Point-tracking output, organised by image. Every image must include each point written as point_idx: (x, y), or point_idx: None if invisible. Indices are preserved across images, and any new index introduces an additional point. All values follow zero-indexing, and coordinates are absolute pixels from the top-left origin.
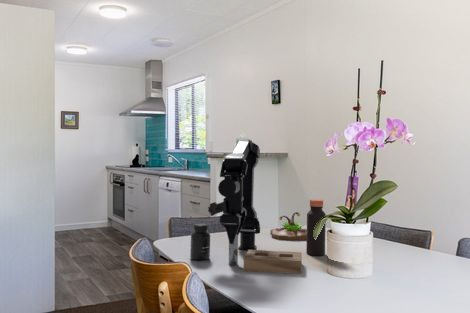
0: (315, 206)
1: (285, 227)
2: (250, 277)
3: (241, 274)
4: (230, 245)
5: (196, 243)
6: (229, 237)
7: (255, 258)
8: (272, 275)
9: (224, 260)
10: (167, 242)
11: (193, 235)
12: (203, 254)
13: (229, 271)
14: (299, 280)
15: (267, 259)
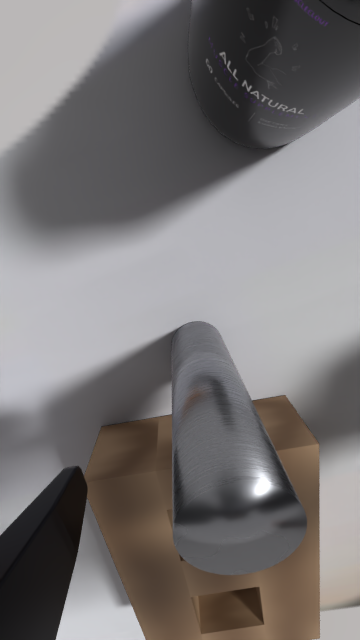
0: None
1: None
2: (14, 478)
3: (35, 437)
4: (174, 411)
5: None
6: (1, 554)
7: (102, 532)
8: (89, 531)
9: (269, 267)
10: None
11: None
12: (214, 101)
13: (51, 375)
14: (76, 599)
15: (120, 572)
